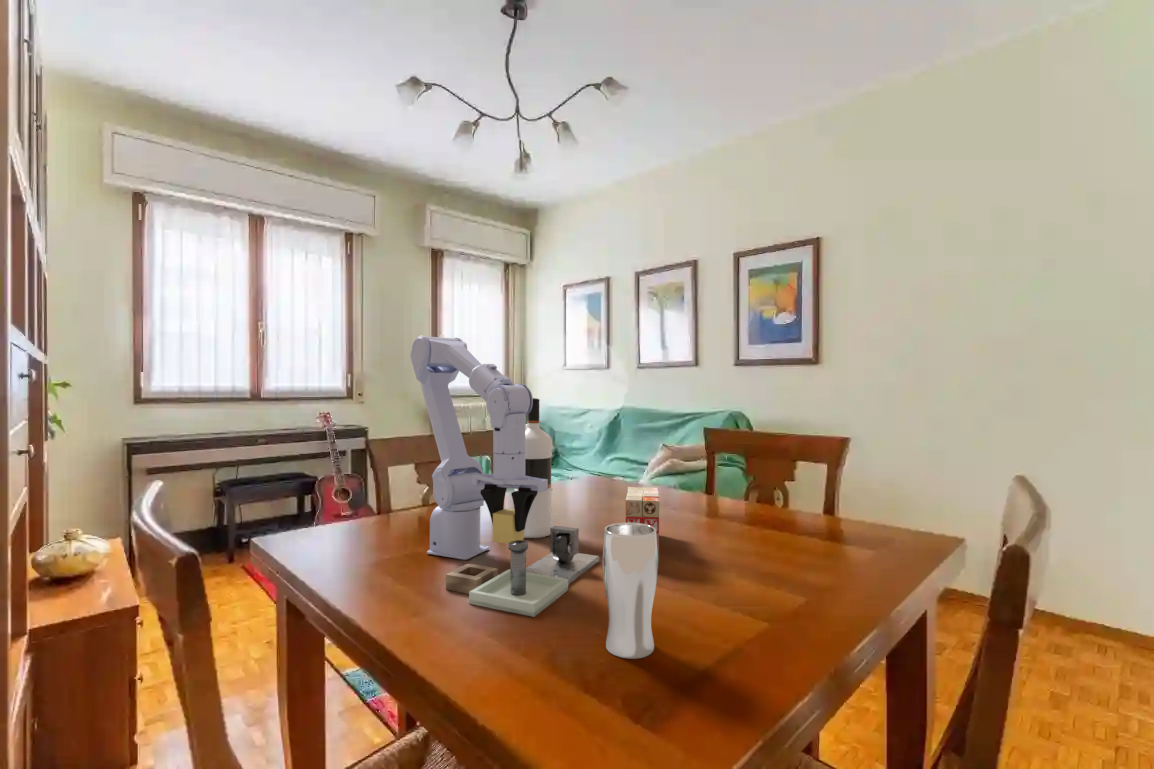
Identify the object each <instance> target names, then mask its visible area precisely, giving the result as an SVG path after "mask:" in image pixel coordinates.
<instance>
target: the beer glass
mask: <svg viewBox="0 0 1154 769" xmlns="http://www.w3.org/2000/svg"><path fill="white" fill-rule="evenodd" d="M603 530H604V534H603V544H602V576H603V583H604V584H603V585H604V590H605V596H606V602H607V610H608V629H607V634H606V639H605V648H606V650H607V652H608V653H610V654H612V655H613V656H614V657H618V658H621V659H628V660H629V659H630V660H637V659H643V658H646V657H648V656H650V655H651V654H652V653H654V652H655V651H654V650H655V642H654V637H653V636H654V635H653V631H652V630H653V629H652V611H653V606H654V599H655V595H656V590H657V588H656V587H657V581H658V574H659V573H658V572H659V566H658V550H657V538H656V529H655V528H654V527H652V526H650V525H647V524H641V523H630V522H626V521H625V522H616V523H610V524H608V525H606V526H605V527H604V528H603Z"/></svg>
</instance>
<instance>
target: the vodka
mask: <svg viewBox="0 0 1154 769" xmlns="http://www.w3.org/2000/svg"><path fill="white" fill-rule="evenodd" d="M540 427H541V426H540V399H539V398H536V397H534V398H533V405H532V409H531V411H530V412H529V414H527V427H526V448H525V476H530V477H535V478H540V479H547V480H548V490H547V491H545V492H538V493H537V495H536V497H535V499H534V501H533V503H532V505H531V508H530V510H529V513H528V516H527V520H526V525H525V529H524V539H530V538H534V539H542V537H543V538H546V536H547V537H549V536H550V528H551V527H553V526H555V521H554V519H553V518H554V516H553V505H552V503H553V501H552V494H553V493H552V492H553V487H552V456H553V453H552V452H553V440H552V437H551V435H549V434H548V433H547V432H545V431H544V430H543V429H541V428H540ZM515 491H518V489H514V490H513V492H515Z"/></svg>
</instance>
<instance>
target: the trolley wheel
mask: <svg viewBox="0 0 1154 769" xmlns="http://www.w3.org/2000/svg"><path fill="white" fill-rule="evenodd" d="M579 531H580V529H579V528H578V527H569V526H564V525H563V526H562V525H560V526H559V525H554V526H553V527H551V528H550V535H549V536H550V539H549V540H550V543H549V544H550V545H549V547H550V550H549V551H550V552H549V553H548V554H547V555H544V556H543V557H542V558H540V559H538V560H537V561H535V562H534V563H532V564H530V565H528V566H526V572H528V573H534V574H540V575H546V576H552V577H558V578H564V579H568V585H570V584H571V583H573V582H574V581H575V580H577V578H580V576H582V575H583V574H584V573H586V572H587V571H588V570H590V569H591V568H592V567H593V566H595V565H596V564H598V563H599V561H600V556H599V555H595V554H594V555H593V554H588V553H580V552H579V536H580V535H579V534H580V533H579Z"/></svg>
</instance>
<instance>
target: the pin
mask: <svg viewBox="0 0 1154 769" xmlns="http://www.w3.org/2000/svg"><path fill="white" fill-rule="evenodd" d="M528 549H529V542H528V541H526V540H523V539H522V540H517V541H511V542H509V544H508V550H510V570H511V595H513V596H522V595H525V594H526V568H527V550H528Z"/></svg>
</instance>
